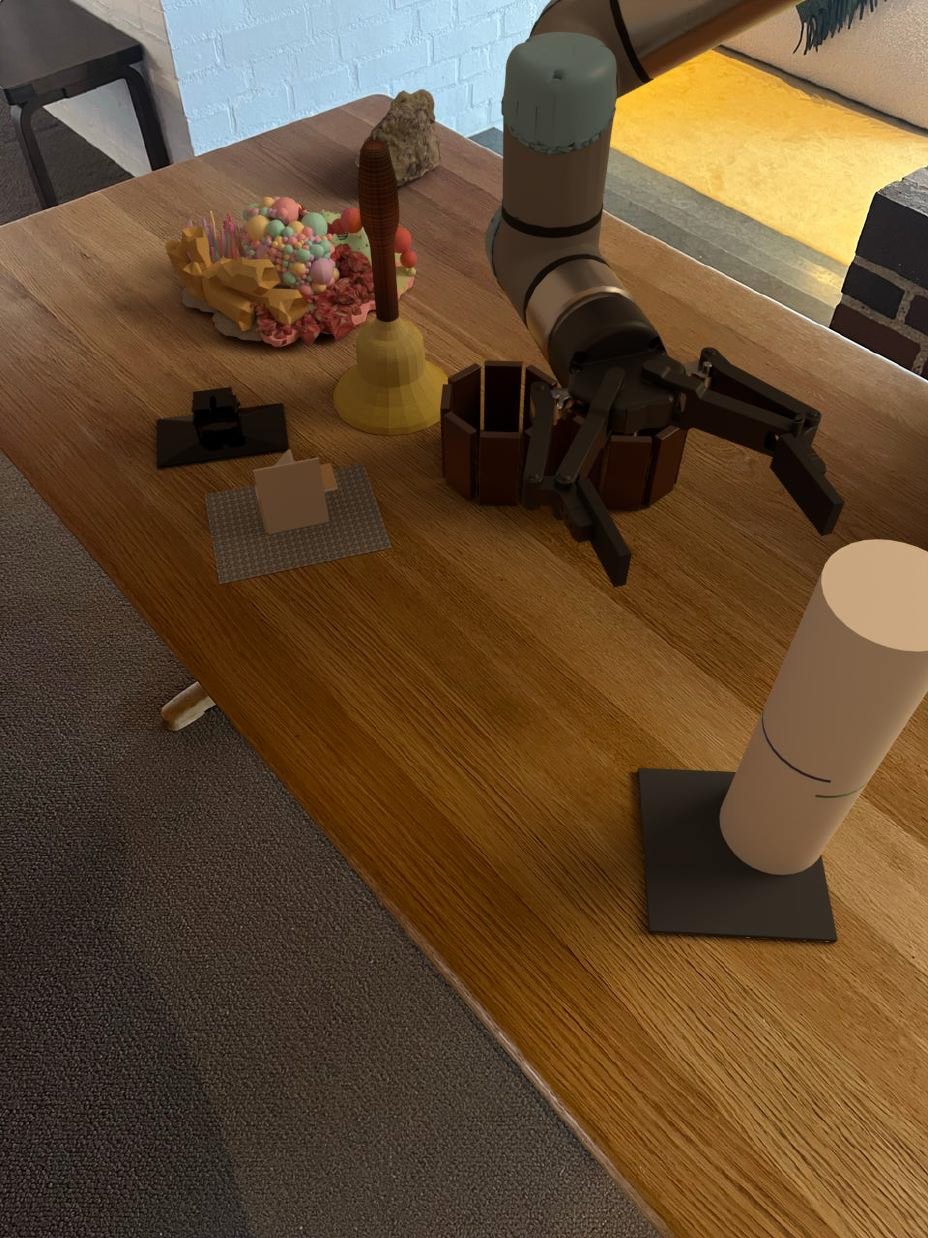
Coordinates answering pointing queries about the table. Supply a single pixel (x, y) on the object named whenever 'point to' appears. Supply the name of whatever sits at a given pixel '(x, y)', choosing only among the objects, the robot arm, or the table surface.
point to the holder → (504, 442)
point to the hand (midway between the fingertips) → (730, 545)
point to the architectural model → (294, 519)
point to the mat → (717, 869)
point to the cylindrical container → (832, 706)
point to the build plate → (220, 430)
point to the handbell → (386, 324)
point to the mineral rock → (409, 135)
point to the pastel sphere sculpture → (284, 272)
